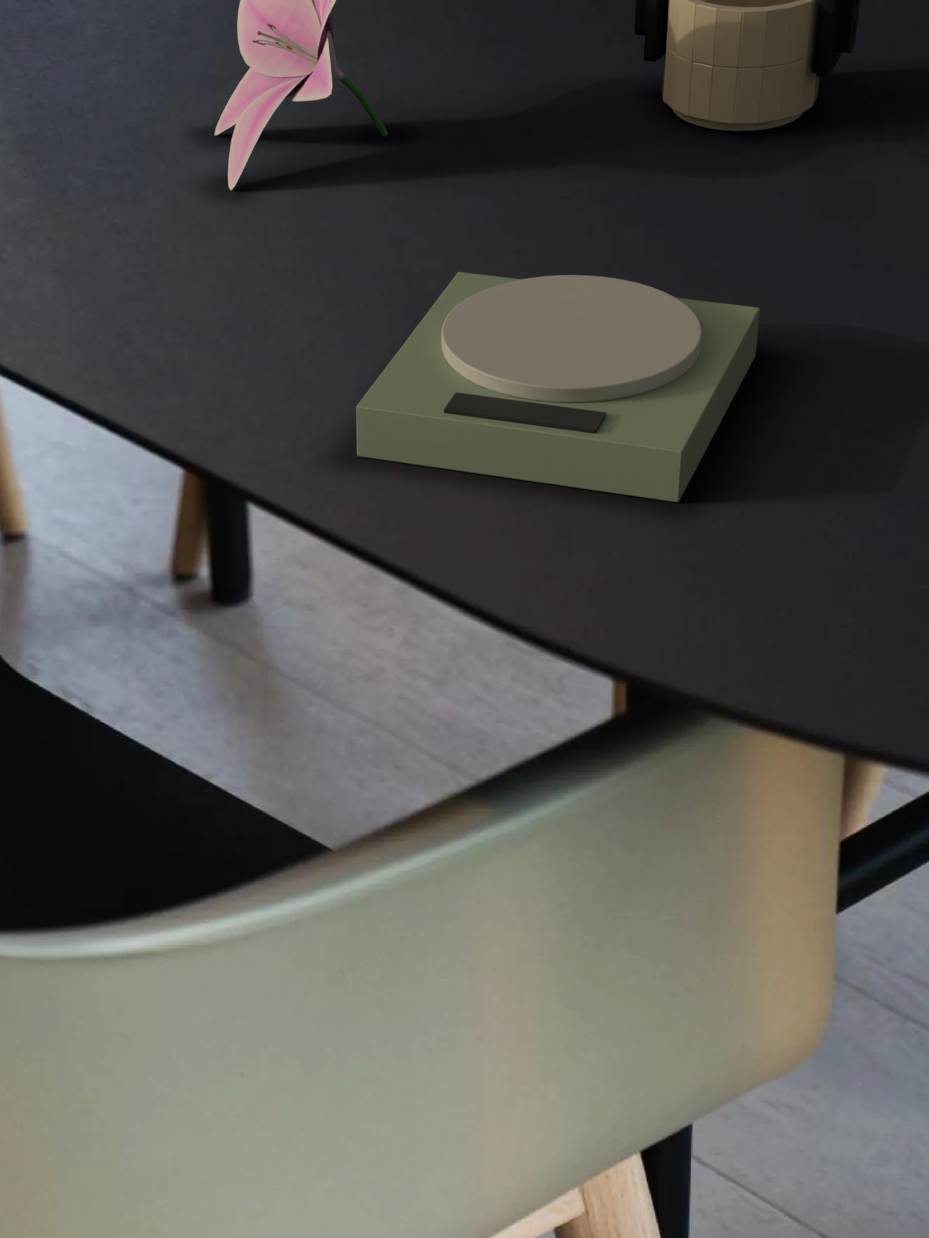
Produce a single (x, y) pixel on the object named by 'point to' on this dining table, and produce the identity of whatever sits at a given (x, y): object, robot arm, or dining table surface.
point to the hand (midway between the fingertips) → (742, 55)
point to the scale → (561, 383)
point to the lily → (280, 68)
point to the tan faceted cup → (740, 62)
